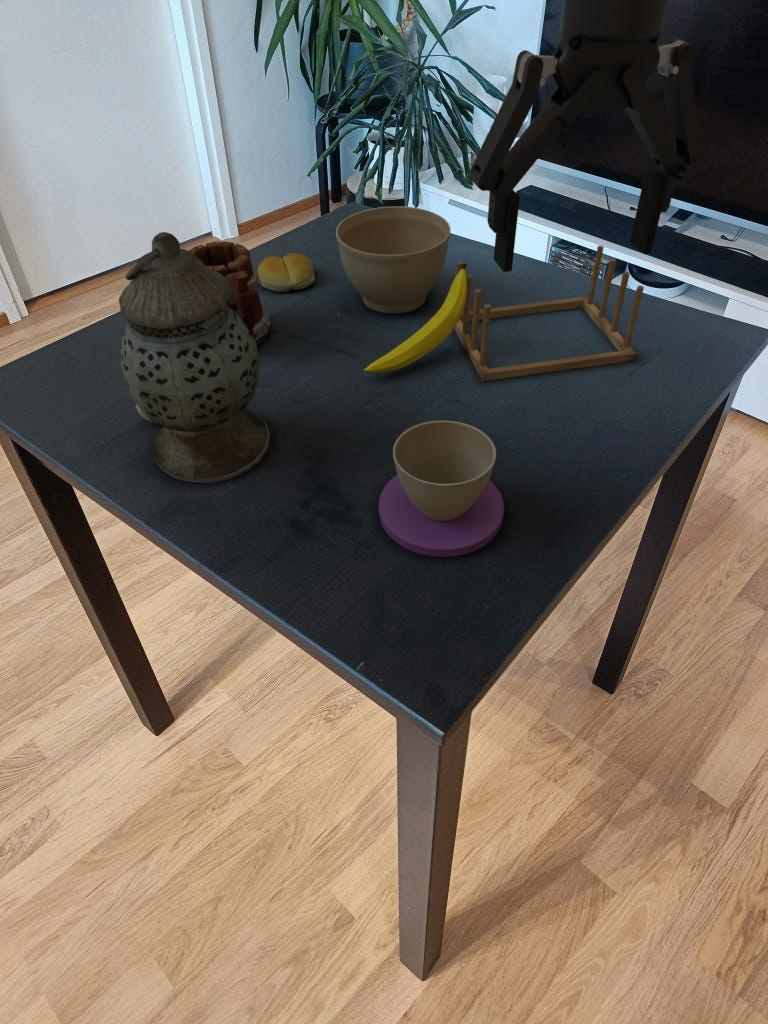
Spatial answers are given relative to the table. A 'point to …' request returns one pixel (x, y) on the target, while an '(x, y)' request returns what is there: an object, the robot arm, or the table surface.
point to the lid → (440, 523)
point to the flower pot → (443, 466)
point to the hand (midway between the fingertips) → (572, 256)
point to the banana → (428, 330)
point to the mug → (238, 283)
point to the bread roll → (286, 272)
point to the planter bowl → (393, 255)
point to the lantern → (191, 366)
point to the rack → (586, 303)
